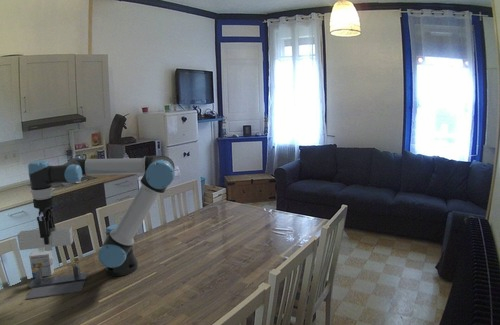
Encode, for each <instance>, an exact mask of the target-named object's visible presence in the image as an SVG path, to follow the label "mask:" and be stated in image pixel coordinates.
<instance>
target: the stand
mask: <svg viewBox="0 0 500 325" xmlns="http://www.w3.org/2000/svg"><path fill="white" fill-rule="evenodd" d="M73 261H74V262H71V264H70V266H71V268H72V273H73V274H67V275H60V276H59V275H58V276H49V277H44V278H43V276H42V270H41V267H36V268H33V269H32V270H31V272H32V271H33V272H34V273H35V278H34V279H32V280H31V281H30V283H29V284H28V285H27V289H28V290H31V289H32V288H39V287H46V286H53V285H60V284H67V283H74V282H81V281H85V282H86V280H87V277H88V273H89V272H81V271H80V264H79V262H80V257H78V256H77V257H73ZM36 264H37V266H42V262H37V263H36Z"/></svg>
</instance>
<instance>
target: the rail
mask: <svg viewBox="0 0 500 325" xmlns="http://www.w3.org/2000/svg"><path fill="white" fill-rule="evenodd" d="M49 236H51V243H52V248H53V247H62V246H70V245H72V244H73V242H74V234H73V226H62V227H55V228H49ZM17 241H18V248H19V251H24V250H25V251H26V250H35V249H41V248H42V249H43V248H44V242H43V238H40V231H39V228H38V229H29V230H20V232H19V233H17ZM44 249H45V248H44Z"/></svg>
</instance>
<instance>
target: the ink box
mask: <svg viewBox="0 0 500 325" xmlns="http://www.w3.org/2000/svg"><path fill="white" fill-rule="evenodd" d="M28 257H29V262H30V269H31V275H32V278H33V279H35V278H34V277H35V273H34V272H33V271H32V269H33V268H36V267H41V270H42V276H43V277H44V278H45V277H52V275H53V274H54V272H55V265H54V262H53V261H54V259H53V254H52V251H45V249H44V250H33V251H32V252H30V254H29V256H28ZM37 262H42V266H37V264H36V263H37Z"/></svg>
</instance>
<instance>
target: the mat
mask: <svg viewBox="0 0 500 325" xmlns="http://www.w3.org/2000/svg"><path fill="white" fill-rule="evenodd" d="M85 282H86V280H85V281H80V282H73V283H66V284H59V285H52V286H45V287H38V288H31V289H30V291H29V293H28V295H27V296H26V297H25V300H26V301H27V300H33V299H40V298H48V297H53V296H59V295H60V296H61V295H67V294H74V293H78V292H79V293H80V292H82V291H83V288H84V286H85Z"/></svg>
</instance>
